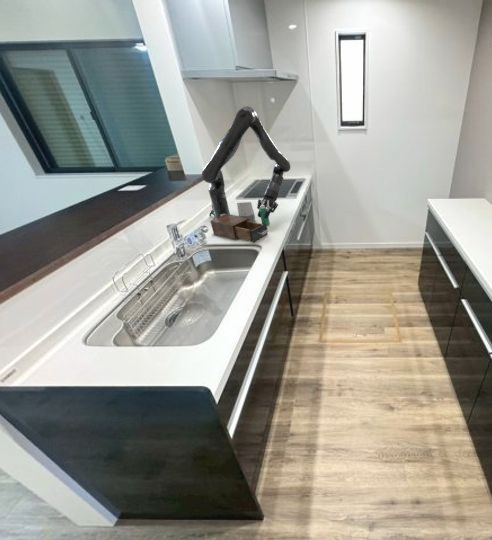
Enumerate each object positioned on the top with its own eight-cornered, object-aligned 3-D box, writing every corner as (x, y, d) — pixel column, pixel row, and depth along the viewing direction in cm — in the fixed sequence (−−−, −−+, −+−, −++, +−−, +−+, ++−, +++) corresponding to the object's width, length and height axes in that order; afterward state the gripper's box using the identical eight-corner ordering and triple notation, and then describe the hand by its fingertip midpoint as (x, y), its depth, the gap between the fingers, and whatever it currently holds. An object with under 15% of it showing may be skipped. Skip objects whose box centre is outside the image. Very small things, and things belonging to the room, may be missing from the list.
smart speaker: (256, 219, 193) (252, 197, 185) (254, 224, 185) (250, 202, 178) (241, 220, 192) (236, 199, 184) (239, 225, 184) (234, 203, 177)
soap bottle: (260, 225, 175) (257, 206, 169) (265, 223, 178) (262, 203, 172) (266, 226, 173) (262, 207, 167) (271, 224, 177) (268, 204, 170)
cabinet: (251, 232, 175) (249, 218, 170) (235, 240, 165) (232, 225, 161) (230, 227, 182) (227, 213, 178) (213, 234, 173) (210, 220, 168)
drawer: (273, 236, 167) (271, 224, 163) (259, 244, 158) (257, 232, 155) (246, 230, 175) (244, 219, 172) (231, 237, 167) (229, 226, 163)
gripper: (259, 186, 174) (249, 212, 171) (278, 189, 168) (267, 216, 165) (267, 193, 181) (257, 218, 178) (285, 195, 175) (275, 222, 172)
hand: (262, 217), depth 172 cm, fingers closed on soap bottle, 4 cm apart
